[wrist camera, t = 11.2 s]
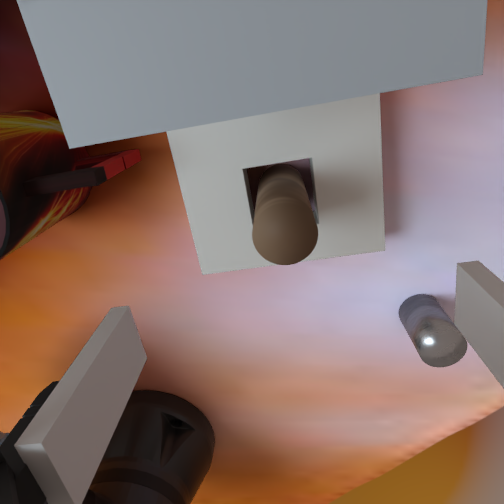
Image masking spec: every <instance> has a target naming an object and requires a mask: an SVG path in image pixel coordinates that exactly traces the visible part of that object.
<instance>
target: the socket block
mask: <svg viewBox="0 0 504 504" xmlns="http://www.w3.org/2000/svg"><path fill="white" fill-rule="evenodd" d="M17 3H18V6H19V8H20V11H21V14H22V17H23V20H24V22H25V25H26V28H27V31H28V34H29V36H30V39H31V42H32V45H33V48H34V50H35V53H36V56H37V59H38V62H39V64H40V67H41V70H42V73H43V76H44V78H45V81H46V84H47V87H48V90H49V93H50V95H51V98H52V101H53V104H54V107H55V109H56V112H57V115H58V118H59V121H60V123H61V126H62V129H63V132H64V135H65V137H66V140H67V143H68V146H69V149H71V148H76V147H82V146H88V145H93V144H99V143H104V142H110V141H116V140H121V139H127V138H132V137H138V136H143V135H149V134H155V133H160V132H166V133H167V137H168V140H169V144H170V148H171V152H172V156H173V160H174V164H175V168H176V172H177V176H178V180H179V184H180V188H181V192H182V196H183V200H184V204H185V208H186V212H187V216H188V220H189V224H190V228H191V232H192V236H193V240H194V244H195V248H196V251H197V255H198V259H199V263H200V267H201V271H202V275H205V274H213V273H220V272H228V271H235V270H243V269H250V268H258V267H265V266H273V265H279V264H274V263H272V262H269V261H267V260H266V259H264V258H263V257H262V256H261V255H260V254H259V253H258V252H257V250H256V248H255V246H254V244H253V240H252V230H253V222H254V215H255V213H254V207H253V202H252V196H251V190H250V185H249V179H248V174H247V168H251V167H257V166H263V165H269V164H275V163H281V162H287V161H294V160H300V159H306V158H309V162H310V171H311V180H312V189H313V198H314V207H315V211H313V214H314V217H315V221H316V224H317V227H318V240H317V244H316V246H315V248H314V250H313V251H312V253H311V254H310V255H309V256H308V257H306V258H305V259H304V260H302V261H300V262H303V261H310V260H318V259H326V258H333V257H341V256H348V255H356V254H363V253H371V252H378V251H385V229H384V200H383V171H382V143H381V114H380V93H383V92H389V91H395V90H400V89H406V88H411V87H417V86H422V85H428V84H434V83H439V82H445V81H450V80H456V79H461V78H467V77H473V76H478V75H483V61H484V46H485V30H486V15H487V0H17Z"/></svg>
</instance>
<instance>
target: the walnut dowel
mask: <svg viewBox="0 0 504 504" xmlns="http://www.w3.org/2000/svg"><path fill="white" fill-rule="evenodd" d="M252 240H253V244H254V246H255V248H256V250H257V252H258V253H259V254H260V255H261V256H262V257H263V258H264V259H266V260H267V261H269V262H272V263H274V264H279V265H291V264H295V263H298V262H300V261H302V260H304V259H305V258H306V257H308V256H309V255H310V254H311V253H312V251H313V250H314V248H315V246H316V244H317V240H318V227H317V224H316V221H315V217H314V214H313V211H312V208H311V205H310V201H309V198H308V195H307V192H306V189H305V185H304V182H303V179H302V176H301V174H300V173H299V172H298V171H297V170H296V169H295V168H294V167H292V166H290V165H287V164H276V165H273V166H271V167H269V168H267V169H266V170H265V171H264V172H263V174H262V175H261V177H260V180H259V185H258V193H257V200H256V207H255V215H254V222H253V230H252Z"/></svg>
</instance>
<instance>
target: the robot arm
mask: <svg viewBox="0 0 504 504" xmlns="http://www.w3.org/2000/svg"><path fill="white" fill-rule="evenodd" d="M454 324H455V325H456V327H457V328H458V329H459V331H460V332H461V333H462V334H463V336H464V337H465V338H466V340H467V341H468V342H469V344H470V345H471V346H472V348H473V349H474V350H475V352H476V353H477V354H478V355H479V357H480V358H481V359H482V361H483V362H484V363H485V365H486V366H487V367H488V369H489V370H490V371H491V372H492V374H493V375H494V376H495V378H496V379H497V380H498V382H499V383H500V384H501V386H502V387H503V388H504V282H503V281H501V280H500V279H499V278H498V277H497V276H496V275H494V274H493V273H492V272H491V271H490V270H489V269H487V268H486V267H485V266H484V265H483V264H482V263H480V262H479V261H472V262H464V263H457V275H456V296H455V318H454ZM146 360H147V356H146V353H145V350H144V347H143V345H142V342H141V339H140V336H139V333H138V330H137V327H136V325H135V322H134V319H133V316H132V313H131V310H130V308H129V306H122V307H114V308H111V309H110V311H109V312H108V314H107V315H106V316H105V318H104V319H103V321H102V322H101V323H100V325H99V326H98V328H97V329H96V330H95V332H94V333H93V335H92V336H91V338H90V339H89V340H88V342H87V343H86V345H85V346H84V347H83V349H82V350H81V352H80V353H79V354H78V356H77V357H76V359H75V360H74V362H73V363H72V364H71V366H70V367H69V369H68V370H67V371H66V373H65V374H64V376H63V377H62V379H61V380H60V381H55V382H52V383H51V384H50V385H49V386H47V387H46V388H45V389H44V390H43V391H42V392H40V393H39V395H38V396H37V397H36V399H35V400H34V401H33V403H32V404H31V405H30V408H28V409H27V411H26V412H25V413H24V415H23V418H22V419H20V420H19V421H18V423H17V424H16V425H15V427H14V428H13V429H12V431H11V432H10V433H3V432H1V431H0V504H190V503H191V502H192V500H193V498H194V496H195V494H196V492H197V490H198V489H199V487H200V485H201V483H202V481H203V479H204V477H205V475H206V474H207V472H208V470H209V468H210V465H211V462H212V457H213V450H214V444H215V438H214V433H213V429H212V427H211V425H210V423H209V421H208V420H207V419H206V417H205V416H204V415H203V414H202V413H201V412H200V411H199V410H198V409H197V408H196V407H194V406H193V405H191V404H190V403H188V402H187V401H185V400H183V399H181V398H178V397H176V396H173V395H170V394H167V393H163V392H157V391H133V389H134V386H135V384H136V382H137V380H138V378H139V375H140V373H141V371H142V369H143V366H144V364H145V362H146ZM132 391H133V392H132Z"/></svg>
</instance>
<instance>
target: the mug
mask: <svg viewBox="0 0 504 504" xmlns="http://www.w3.org/2000/svg"><path fill="white" fill-rule="evenodd" d="M139 161H141V156H140V151H139V149H134V150H126V151H120V152H115V153H109V154H104V155H98V156H93V157H89V155H88V153H87V151H86V149H85V147H84V146H82V147H76V148H71V149H69V146H68V143H67V140H66V137H65V135H64V132H63V129H62V126H61V123H60V121H59V120H58V119H56V118H54V117H52V116H50V115H48V114H45V113H41V112H38V111H29V110H24V111H15V112H6V113H0V260H1V259H3V258H4V257H6V256H7V255H9V254H10V253H12V252H13V251H15V250H16V249H18V248H20V247H21V246H23V245H24V244H26V243H27V242H29V241H30V240H32V239H33V238H35V237H36V236H38V235H39V234H41V233H42V232H44V231H45V230H47V229H49V228H50V227H52V226H53V225H55V224H56V223H58V222H59V221H61V220H62V219H64V218H65V217H67V216H68V215H70V214H71V213H73V212H74V211H76V210H78V209H79V208H80V207H81V206H82V205H83V204H84V203H85V201H86V199H87V198H88V196H89V194H90V191H91V188H92V186H98V185H100V184H101V183H103V182H105V181H106V180H108V179H110V178H111V177H113V176H115V175H116V174H118V173H120V172H122V171H123V170H125V169H128V168H129V167H131V166H133V165H134V164H136V163H138V162H139Z"/></svg>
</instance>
